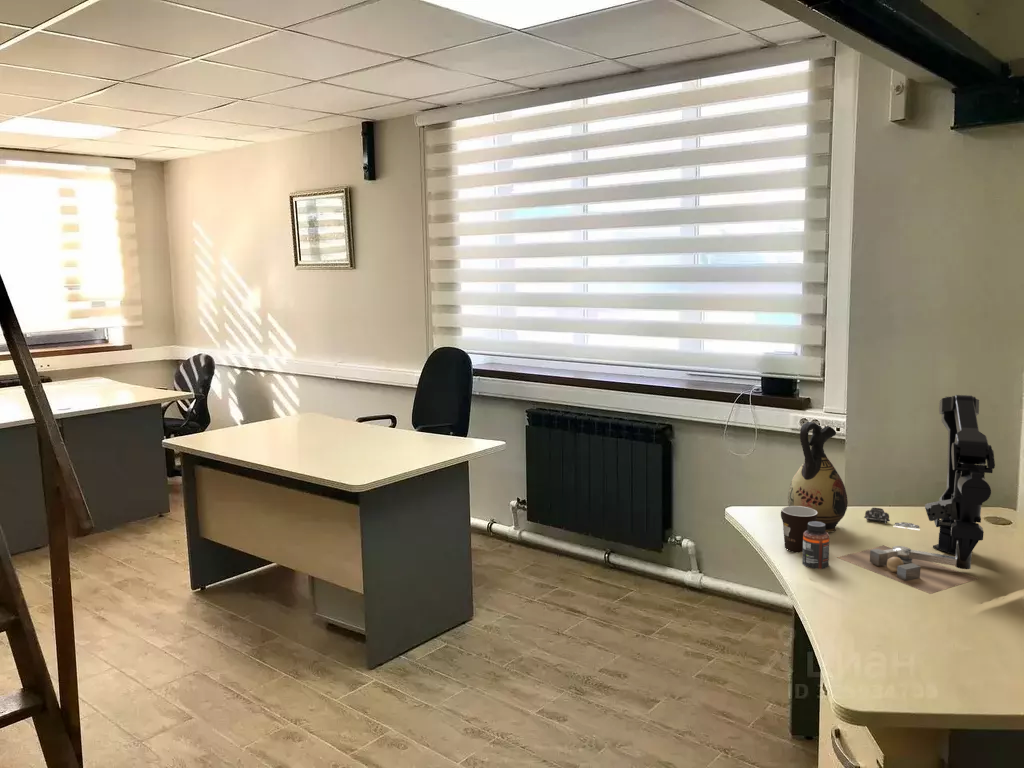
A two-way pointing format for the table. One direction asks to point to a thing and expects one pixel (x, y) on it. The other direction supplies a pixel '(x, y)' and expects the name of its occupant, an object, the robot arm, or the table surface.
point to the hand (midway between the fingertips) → (962, 557)
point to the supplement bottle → (816, 546)
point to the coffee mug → (796, 525)
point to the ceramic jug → (818, 479)
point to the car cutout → (886, 518)
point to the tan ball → (894, 563)
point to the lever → (918, 556)
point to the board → (930, 573)
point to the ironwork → (908, 570)
